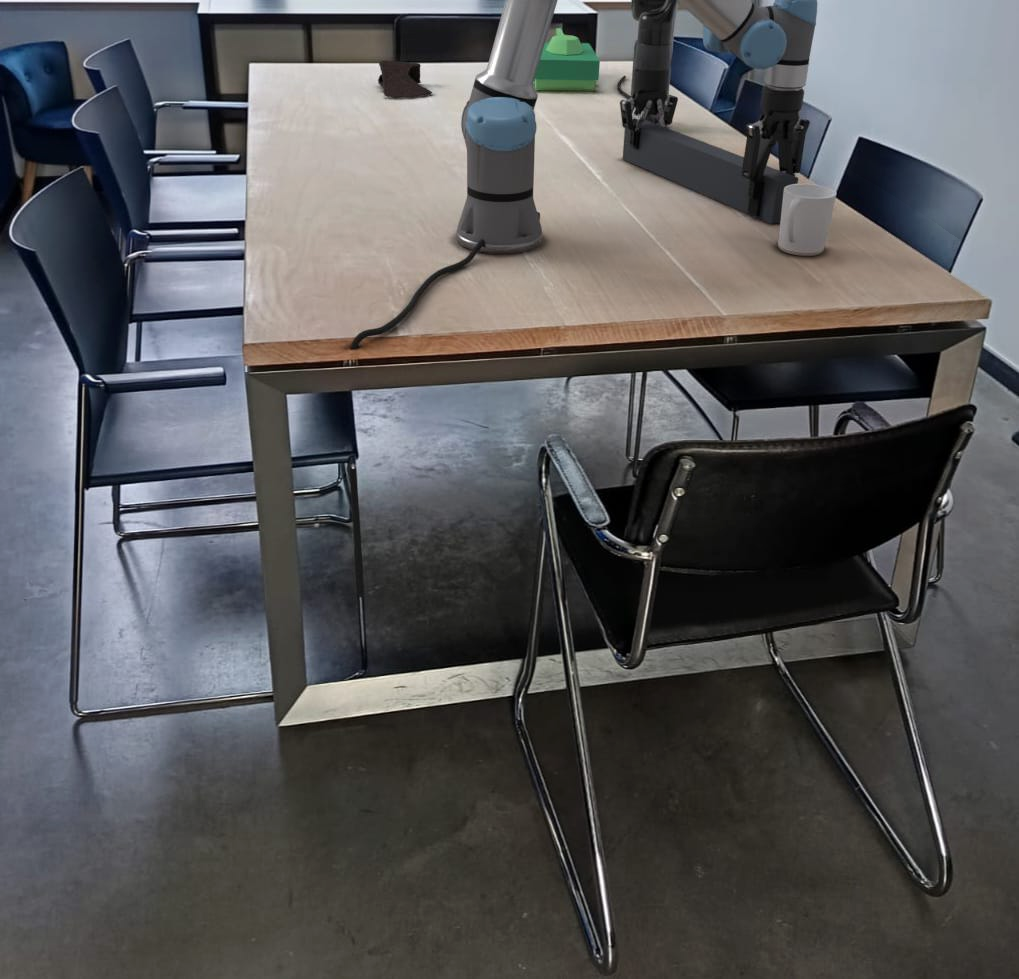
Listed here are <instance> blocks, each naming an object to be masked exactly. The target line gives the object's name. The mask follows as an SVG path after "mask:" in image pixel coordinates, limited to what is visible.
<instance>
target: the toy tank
mask: <svg viewBox="0 0 1019 979" xmlns="http://www.w3.org/2000/svg"><path fill="white" fill-rule="evenodd" d="M555 34H556V35H554V36H552V37H551V39H550V41H549V42H547V41H545V44H544V48H543V51H542V54H541V58H540V61H539V64H538V68H537V71H536V75H535V78H534V88H535V90H536V91H595V89H596V81H599V78H600V63H601V60H600V58H599V57H598V55H597V53H596V52H595V51H594V49H593V47H592V45H591V44H590V42H581V41H580V39H579V37H577V36H575V35H569V34H564V32H563V30H562V28H558V27H557V28H555Z"/></svg>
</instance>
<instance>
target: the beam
mask: <svg viewBox="0 0 1019 979" xmlns="http://www.w3.org/2000/svg"><path fill="white" fill-rule="evenodd" d="M639 132H640V142H639V149H633V148H631V145H630V143H629V141H630V130H629V129H627V128H624V133H623V134H624V136H623V145H622V160H624V161H626V162H628V163H631V164H633V165H636V166H637V167H639V168H642V169H645V170H647V171H649V172H652V173H653V174H656V175H658V176H660V177H662V178H664V179H667V180H669V181H672V182H674V183H677V184H679V185H681V186H683V187H685V188H688V189H690V190H691V191H695V192H698V193H699V194H701V195H704V196H706V197H708V198H711V199H713V200H715V201H718V202H720V203H722V204H725V205H727V206H729V207H732V208H734V209H736V210H739V211H741V212H743V213H745V214H748V215H750V216H752V217H754V218H756V219H758V220H761V221H764V222H766V223H768V224H769V225H773V224H780V221H781V212H782V202H783V192H784V187H786V186H788V185H792V184H799V177H797V176H796V175H795V176H792V175H790V174H787V173H784V172H782V171H779V169H776V168H774V167H771V166H769V165H766V168H765V171H764V174H763V177H762V179H761V181H763V182H764V189H763V196H762V202H761V209H760V216H757V217H756V216H754V215H752V214H749V213H747V211H748V204H749V197H748V189H749V179H747V178H745V177H742V175H741V174H742V167H743V160H744V156H742V155H739V154H737V153H734V152H731V151H729V150H727V149H723V148H721V147H718V146H716V145H712V144H710V143H708V142H705V141H702V140H699V139H697V138H694V137H692V136H689V135H686V134H683V133H681V132H678V131H676V130H673V129H671V128H668V127H667V126H666V127H663V126H660V125H658V124H655V123H652V122H650V121H647V120H645V121H644V122H643V123H642V125H641V128H640V130H639Z"/></svg>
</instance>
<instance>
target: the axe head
mask: <svg viewBox="0 0 1019 979" xmlns="http://www.w3.org/2000/svg"><path fill="white" fill-rule="evenodd" d="M378 66H379V68H380V72H381V74H379V75H378V79H377V84H378V85H379V86H380V87H381V88H382V89H383V95H384V96H385V97H388V98H394V99H395V98H396V99H403V98H405V99H406V98H407V99H411V98H418V97H425V96H429V95H432V94H433V91H431V90H430V89H428V88H427V87H425V86H422V85H421V84H422V82H421V63H419V62H410V61H408V62H407V61H397V60H388V59H387V60H380V61H379V62H378Z"/></svg>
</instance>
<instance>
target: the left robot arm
mask: <svg viewBox="0 0 1019 979" xmlns="http://www.w3.org/2000/svg"><path fill="white" fill-rule="evenodd" d="M558 1H559V0H505V1H504V5H503V9H502V12H501V16H500V19H499V23H498V27H497V30H496V34H495V38H494V42H493V45H492V49H491V53H490V55H489V58H488V59H489V60H488V63H487V67H486V68H485V70H483V71H481V72H480V73H478V74H476V75H475V78H474V82H473V85H472V89H471V92H470V96H469V99H468V100H467V102H466V104H465V106H464V107H463V110H462V115H461V120H460V121H461V122H460V127H461V132H462V136H463V139H464V143H465V147H466V192H467V193H466V198H465V202H464V205H463V209H462V211H461V214H460V218H459V220H458V224H457V228H456V241H457V243H458V244H459V245H461V246H462V247H464V248H466V249H468V250H470V252H469V253H468V255H467V256H466V257H465V258H463V259H462V260H460V261H458V262H456V263H453V264H450V265H448V266H445V267H442V268H440V269H438V270H437V271H434V272H433V273H432V274H431V275H430V276H429V277H428V278H427V279H426V280H424V282H423V283H422V284H421V285H420V286H419V287H418V288H417V290H416V291H415V293H414V294H413V296H412V298H411V299H410V301H409V302H408V304H407V306H405V308H404V309H403V310H402V311H401V312H399V314H398V315H396V316H395V317H394V318H393V319H391V320H390V321H388V322H386V323H385V324H384V325H382V326H380V327H376V328H370V329H366V330H362V331H361V332H359V333H357V335H356V336H355V337H354V339H353V340H352V342H351V344H350V346H349V350H350V351H354V350H356V349H358V346H359V345H360V343H361V342H362V341H363V340H364V339H366V338H368V337H369V338H370V337H373V336H380V335H382V334H385V333H387V332H388V331H390V330H391V329H393V328H394V327H395V326H397V325H398V324H399V323H400V322H402V321H403V320H404V319H405V318H406V317H407V316H408V315H409V314H410V313H411V312H412V311H413V309H414V308H415V307H416V305H417V303H418V302H419V299H420V298H421V297H422V295H423V294H424V293H425V291H426V290H427V289H428V288H429V286H431V284H433V283H434V282H435V280H437V279H438V278H440V277H441V276H444V275H446V274H448V273H451V272H454V271H456V270H459V269H461V268H463V267H465V266H467V265H468V264H470V262H472V261H473V259H474V258H475V256H476V255H477V253H478V252H479V253H486V254H497V255H499V254H500V255H506V254H507V255H508V254H517V253H524V252H527V251H530V250H533V249H536V248H538V247H539V246H540V245H541V244H542V243H543V229H542V224H541V213H540V212H539V211H538V210H537V206H536V204H535V199H534V184H535V181H534V180H535V148H536V147H535V146H536V133H537V128H538V127H537V121H536V113H535V107H536V103H537V100H538V97H539V94H538V92H537V90H535V85H534V82H535V79H534V78H535V75H536V71H537V68H538V64H539V61H540V58H541V54H542V51H543V48H544V44H545V42H547V41H546V40H547V38H548V34H549V30H550V27H551V24H552V21H553V17H554V14H555V10H556V7H557V3H558ZM677 1H678V4H680V5H681V6H682V7H683V8H684V9H686V11H688V12H689V13H690V14H691V15H692V16H693V17H694V18H695V19H696V20H698V21H699V22H700V24H702V43H703V46H704V48H705V49H706V51H708V52H717V53H730V54H732V55H733V56H735V57H736V58H738V59H739V60H740V61H742V62H743V63H744V64H745V65H746V66H747V67H748V68H751V69H756V70H765V71H764V78H763V83H764V86H763V87H762V90H761V95H760V97H761V98H760V103H759V104H760V105H759V106H760V108H761V113H760V116H759V118H758V121H755V122H754V123H747V124H746V125H745V131H746V142H745V148H744V154H743V157H744V160H743V167H742V174H741V175H742V177H745V178H747V179H749V189H748V197H749V204H748V211H747V213H749V214H748V215H750V214H752V215H754V216H756V217H755V218H757V216H760V209H761V202H762V196H763V189H764V182H763V181H761V179H762V177H763V174H764V171H765V168H766V166H768V165H767V164H768V162H769V158H770V156H771V153H772V151H773V147H775V146H776V144H777V152H778V170H779V171H782V172H784V173H787V174H790V175H792V176H795V177H796V174H799V173H800V172H801V169H802V161H803V154H804V148H805V142H806V135H807V134H806V133H807V132H808V130H809V126H810V124H811V121H810V120H809V119H806V118H803V117H800V114H799V112H800V111H801V110H802V109H803V102H804V97H805V90H804V87H805V86H806V84H807V77H808V71H809V64H810V57H811V51H812V46H813V39H814V36H815V35H814V34H815V28H816V26H817V15H818V0H774V1H773V5H765V6H761V5H760V6H757V5H755V4H754V3H753V2H752V0H677ZM747 213H746V214H747ZM752 215H751V216H752ZM754 216H753V217H754ZM348 470H349V482H350V483H349V484H350V497H351V511H352V523H353V534H354V535H353V536H354V548H355V562H356V577H357V578H356V579H357V580H356V581H357V595H358V598H364V597H365V583H364V566H363V564H364V563H363V551H362V537H361V525H360V524H361V523H360V522H361V521H360V513H359V512H360V511H359V496H358V495H359V494H358V483H357V482H358V480H357V469H356V468H349V469H348Z"/></svg>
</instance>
